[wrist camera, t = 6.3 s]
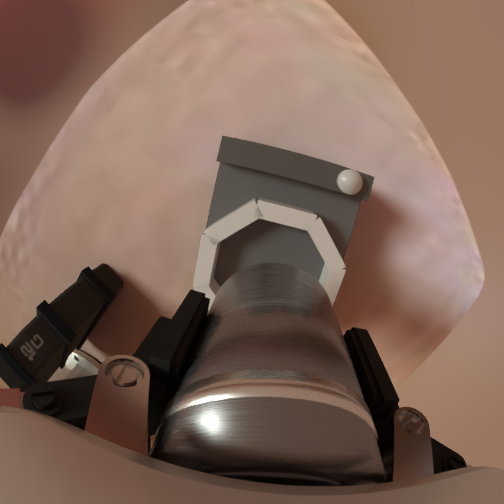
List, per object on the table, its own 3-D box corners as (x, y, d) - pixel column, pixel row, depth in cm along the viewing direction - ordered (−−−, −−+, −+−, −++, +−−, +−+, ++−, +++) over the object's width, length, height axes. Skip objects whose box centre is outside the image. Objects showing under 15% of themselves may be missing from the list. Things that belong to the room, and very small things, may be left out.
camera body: (305, 308, 24) (315, 354, 18) (206, 284, 24) (184, 324, 18) (347, 174, 21) (377, 177, 14) (236, 144, 21) (220, 134, 14)
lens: (309, 374, 13) (324, 532, 5) (202, 351, 13) (146, 507, 5) (350, 278, 11) (441, 449, 3) (223, 247, 11) (125, 415, 3)
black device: (137, 269, 22) (22, 401, 11) (109, 315, 31) (38, 401, 20) (108, 240, 22) (-14, 360, 11) (89, 294, 30) (14, 377, 19)
